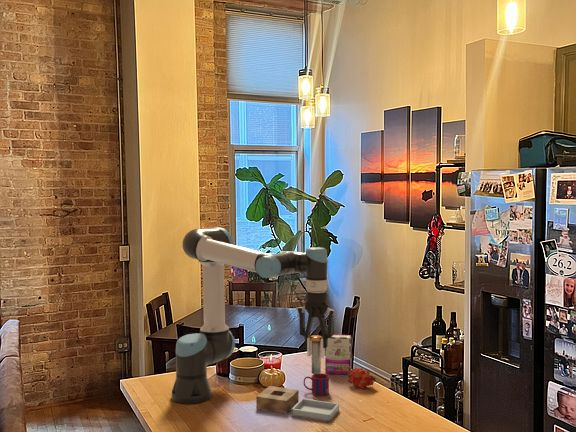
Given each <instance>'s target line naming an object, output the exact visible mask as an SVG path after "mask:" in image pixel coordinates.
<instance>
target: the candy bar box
mask: <svg viewBox="0 0 576 432" xmlns="http://www.w3.org/2000/svg"><path fill="white" fill-rule="evenodd" d="M324 357H325V358H324V359H325V360H324V361H325V362H324V363H325V369H324V371H325V373H324V374H327V375H341V376H342V375H345V376H347V375H348V374H349V372H350V371H351V369H352V335H351V334H350V335H348V334H333V336H332V337H331V338H328V346H327V348H325V356H324Z"/></svg>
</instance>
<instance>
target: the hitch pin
mask: <svg viewBox="0 0 576 432" xmlns="http://www.w3.org/2000/svg"><path fill="white" fill-rule="evenodd" d="M309 337H310V340H311V341H312V354H311V374H312V375H314V374H320V373H321V372H322V371H321V370H322V369H321V368H322V367H321V366H322V365H321V363H322V362H321V360H322V358H321V339H322V338H323V336H322V335H314V334H313V335H310V336H309Z"/></svg>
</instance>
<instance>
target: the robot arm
mask: <svg viewBox="0 0 576 432" xmlns="http://www.w3.org/2000/svg"><path fill="white" fill-rule="evenodd" d="M182 250H183V252H184V254H185V255H186V256H188V257H189V258H191V259H193V260H197V261H198V263H199V264H200V265H202V294H203V295H202V297H203V299H202V302H203V303H202V304H203V307H202V308H203V325H202V326H201V327H200V329H199V333H197V332H196V333H187V334H185V335H183V336H180V337H179V338H178V339H177V341H176V343H175V380H174V382H173V386H172V390H171V400H172V401H173V402H175V403H179V404H187V405H188V404H189V405H191V404H200V403H204V402H206V401H208V400H210V399H211V398H212V389H211V386H210V382H209V380H208V376H207V373H208V372H207V368H208V367H207V366H210V365H213V364H214V363H218V362H222V361H224V360H226V359H228V358H229V357H230V356H231V355H232V354H233V353H234V351H235V347H236V340H235V337H234V336H233V333H232V332H231V330H230V327H229V326H228V325H227V324H226V305H225V304H226V299H225V297H226V294H225V293H226V292H225V265H227V266H232V267H235V268H239V269H242V270H246V271H249V272H253V273H256V274H258V275H259V276H260V277H261V278H263V279H268V278H271V279H272V278H275V277H279V276H282V275H283V276H284V275H288V274H295V273H296V274H297V273H298V274H305V290H306V292H305V305H304V306H300V307H299V308H297V312H298V314H299V318H298V319H299V335H300V336H303V337H304V345H305V347H307V349H306V352H307V353H306V354H307V355H306V356H307V357H311V356H312V341H311V340H310V336H311V331H312V327H313V323H314V318H317V319H318V321H319V326H320V330H321V331H320V332H321V336H322V339H321V359H323V358H324V357H325V348H327V346H328V338H331V337H332V336H333V335H334V317H335V313H336V310H335V309H331V308H330V307H329V306H328V291H327V290H328V261H329V260H328V252H327V251H328V250H327V249H326V248H325V247H307V248H306V250H305V252H299V251H292V250H286V251H285V250H282V251H280V252H278V253H276V254H275V253H274V254H271V253H267V252H263V251H260V250H255V249H251V248H247V247H243V246H241V245H235V244H234V239H233V237H232V235H231V234H230V232H229V231H228V230H227V229H225V228H224V227H218V226H217V227H216V226H214V227H204V228H195V229H191V230H189V231H188V232H187V233H186V234H185V236H184V237H183V240H182ZM306 312H307V314H308V316H307V323H306ZM326 313H327V315H328V317H327V322H326V320H325V319H326V317H325V315H326ZM326 323H327V324H326Z"/></svg>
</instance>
